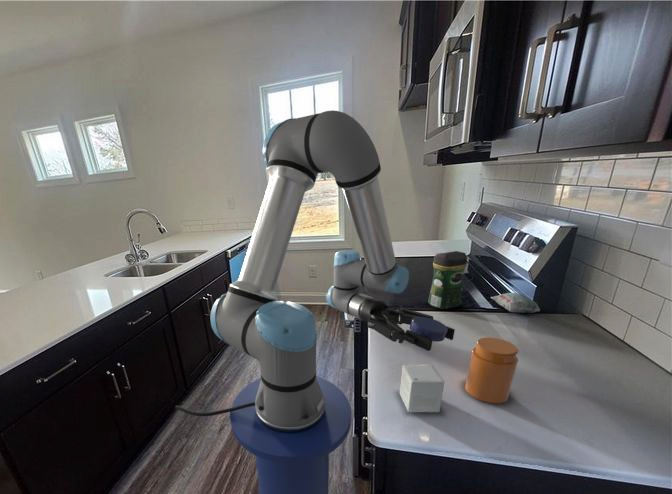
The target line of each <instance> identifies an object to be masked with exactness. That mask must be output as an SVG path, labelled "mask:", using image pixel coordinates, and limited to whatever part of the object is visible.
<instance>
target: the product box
mask: <svg viewBox="0 0 672 494" xmlns="http://www.w3.org/2000/svg"><path fill="white" fill-rule="evenodd" d="M401 367H402V368H401V378H400V386H399V395H400V397H401V400H402V402H403V404H404V405H405V408H406V410H407V412H408V413H440V410H441V405H442V398H443V392H444V388H445V387H444V386H445V380H444V379H443V378H442V376H441V375H440V373H439V372H438V371H437V369H436V368H435V366H434V365H433V364H431V363H430V364H403V365H402V366H401Z"/></svg>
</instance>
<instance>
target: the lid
mask: <svg viewBox="0 0 672 494" xmlns="http://www.w3.org/2000/svg"><path fill="white" fill-rule="evenodd" d="M446 326H447V325H446V324H444V323H442V322H441V321H439V320H436V319H434V318H433V319H431V318H427V317H414V318H413V319H412V321H411V324H410V325H409V330H410V331H412V332H414V333H417V334H419V335H422V336H424V337H426V338H429V339H431V340H432V342H437V343H440V342H442V341H445V339H446V338H445V337H446V334H447V331H448V328H447V327H448V326H447V327H446Z"/></svg>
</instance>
